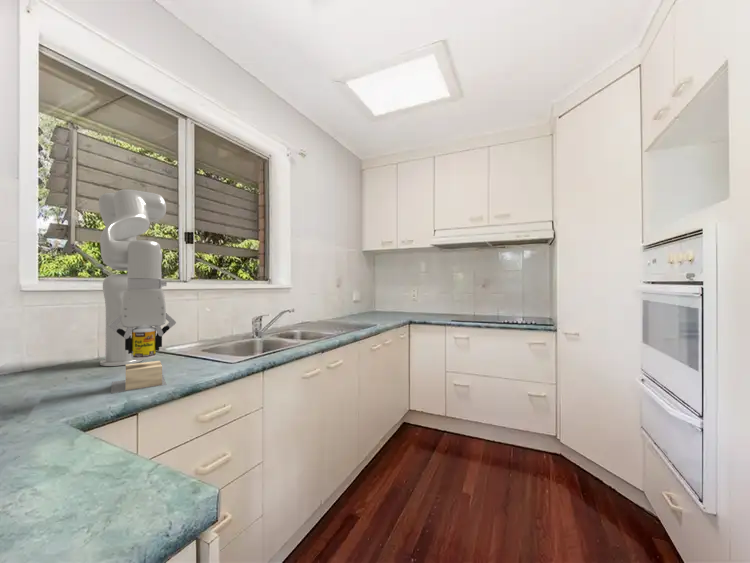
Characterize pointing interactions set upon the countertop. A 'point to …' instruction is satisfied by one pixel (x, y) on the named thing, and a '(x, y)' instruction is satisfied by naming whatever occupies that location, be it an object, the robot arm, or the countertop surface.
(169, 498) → the countertop surface
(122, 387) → the slate tile
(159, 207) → the robot arm
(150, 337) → the supplement bottle
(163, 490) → the countertop surface
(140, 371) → the maple block
